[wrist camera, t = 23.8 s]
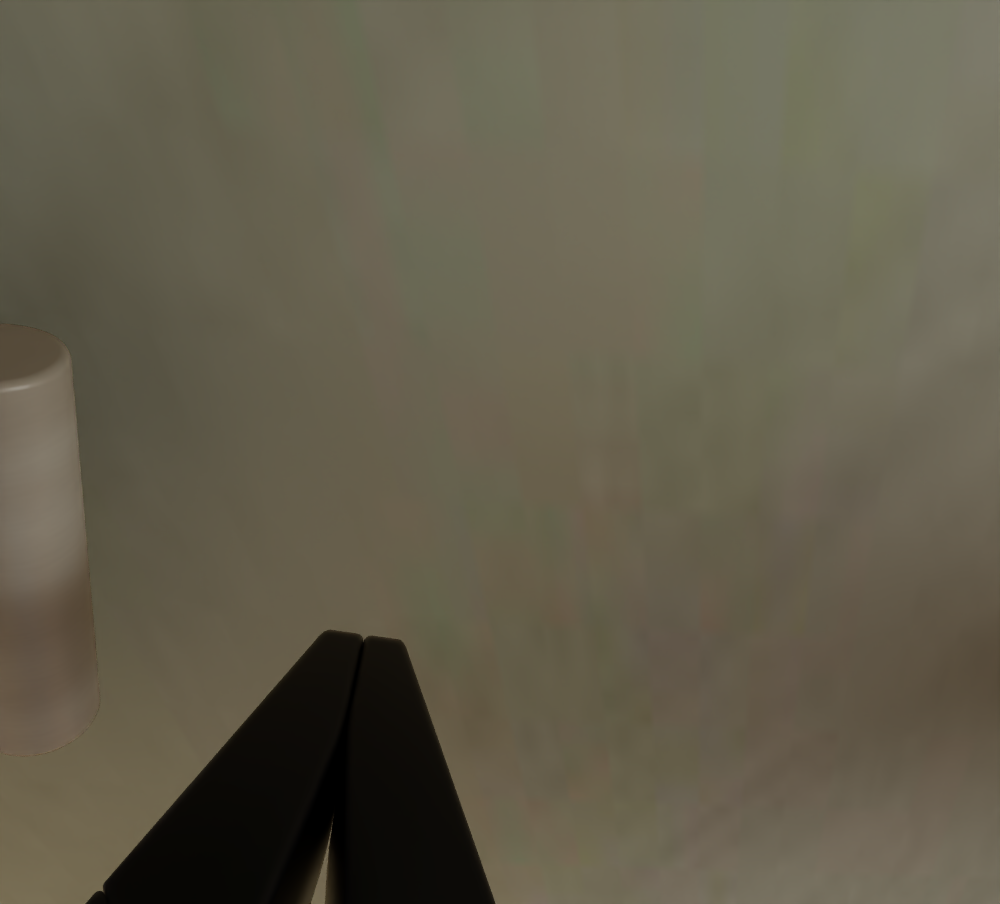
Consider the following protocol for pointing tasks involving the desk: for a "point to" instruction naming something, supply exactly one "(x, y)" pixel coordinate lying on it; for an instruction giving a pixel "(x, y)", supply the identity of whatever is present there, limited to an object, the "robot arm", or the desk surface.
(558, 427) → the desk surface
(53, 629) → the drawer
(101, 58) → the desk surface
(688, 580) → the desk surface
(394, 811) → the robot arm
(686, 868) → the desk surface
